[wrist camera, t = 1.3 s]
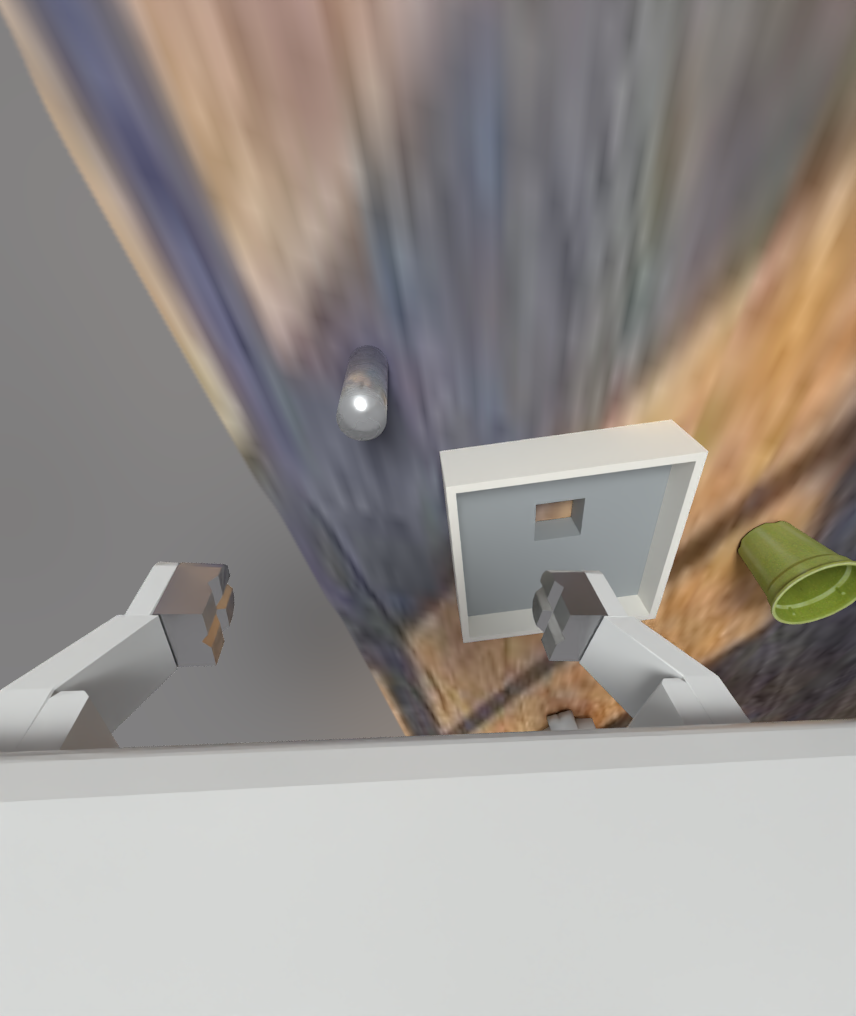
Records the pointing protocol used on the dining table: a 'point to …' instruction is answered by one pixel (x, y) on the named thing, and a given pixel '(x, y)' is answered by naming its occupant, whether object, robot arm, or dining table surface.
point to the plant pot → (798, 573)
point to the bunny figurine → (568, 722)
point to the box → (566, 541)
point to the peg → (364, 395)
